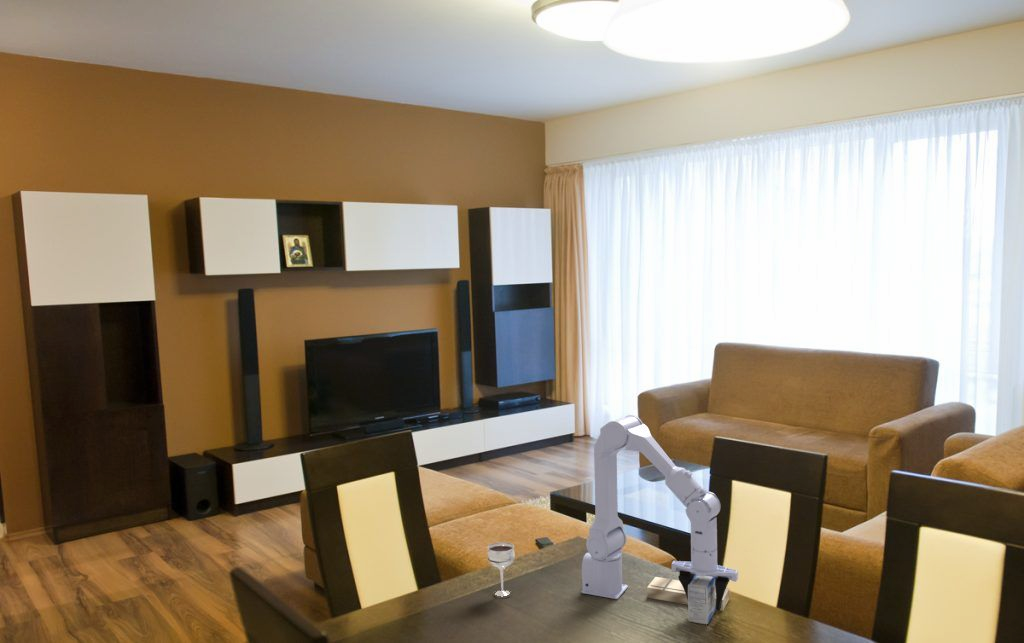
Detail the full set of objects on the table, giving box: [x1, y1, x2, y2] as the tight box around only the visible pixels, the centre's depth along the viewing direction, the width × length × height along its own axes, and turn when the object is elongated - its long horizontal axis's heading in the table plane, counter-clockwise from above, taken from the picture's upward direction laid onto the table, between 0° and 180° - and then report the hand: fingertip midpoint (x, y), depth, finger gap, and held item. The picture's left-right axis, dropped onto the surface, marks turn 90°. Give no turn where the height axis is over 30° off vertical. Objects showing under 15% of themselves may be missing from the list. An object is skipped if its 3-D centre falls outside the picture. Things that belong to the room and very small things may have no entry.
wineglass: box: [487, 541, 516, 597], centre depth 188 cm, size 7×7×12 cm
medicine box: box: [687, 574, 716, 626], centre depth 173 cm, size 8×4×9 cm, turn 153°
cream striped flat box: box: [646, 576, 730, 611], centre depth 183 cm, size 18×7×3 cm, turn 63°
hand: (704, 606), depth 173 cm, fingers open, 6 cm apart
